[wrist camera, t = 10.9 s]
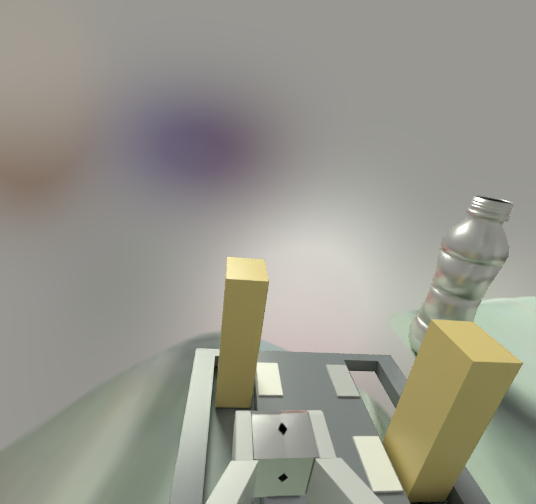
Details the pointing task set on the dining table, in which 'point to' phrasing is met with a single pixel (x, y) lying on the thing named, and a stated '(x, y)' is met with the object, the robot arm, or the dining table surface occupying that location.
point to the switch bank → (306, 398)
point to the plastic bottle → (465, 266)
